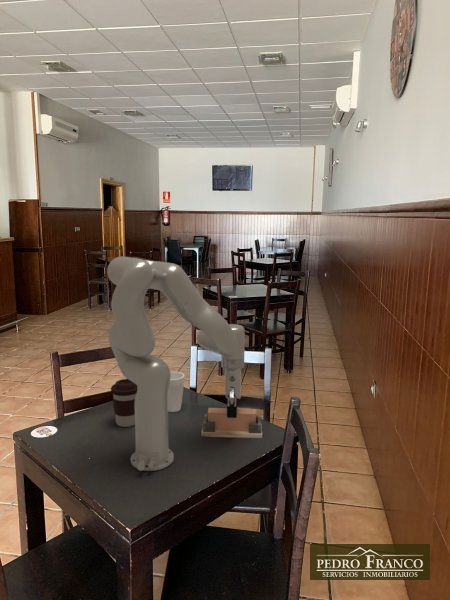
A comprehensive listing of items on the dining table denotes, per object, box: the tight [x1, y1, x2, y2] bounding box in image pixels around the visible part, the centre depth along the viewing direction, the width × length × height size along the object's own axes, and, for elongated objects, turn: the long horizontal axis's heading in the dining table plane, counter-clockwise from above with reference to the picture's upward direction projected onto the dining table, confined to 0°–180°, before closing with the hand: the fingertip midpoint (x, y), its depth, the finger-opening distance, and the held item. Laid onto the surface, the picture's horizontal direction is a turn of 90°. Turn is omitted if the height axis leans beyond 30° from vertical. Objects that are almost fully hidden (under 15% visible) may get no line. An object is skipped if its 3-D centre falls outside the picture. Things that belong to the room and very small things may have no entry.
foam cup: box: [168, 371, 186, 413], centre depth 166 cm, size 10×9×13 cm
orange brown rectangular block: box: [207, 407, 257, 431], centre depth 149 cm, size 4×16×6 cm, turn 88°
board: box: [200, 413, 263, 439], centre depth 149 cm, size 9×20×4 cm, turn 88°
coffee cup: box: [110, 378, 138, 428], centre depth 154 cm, size 10×10×15 cm
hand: (232, 411), depth 148 cm, fingers open, 9 cm apart
